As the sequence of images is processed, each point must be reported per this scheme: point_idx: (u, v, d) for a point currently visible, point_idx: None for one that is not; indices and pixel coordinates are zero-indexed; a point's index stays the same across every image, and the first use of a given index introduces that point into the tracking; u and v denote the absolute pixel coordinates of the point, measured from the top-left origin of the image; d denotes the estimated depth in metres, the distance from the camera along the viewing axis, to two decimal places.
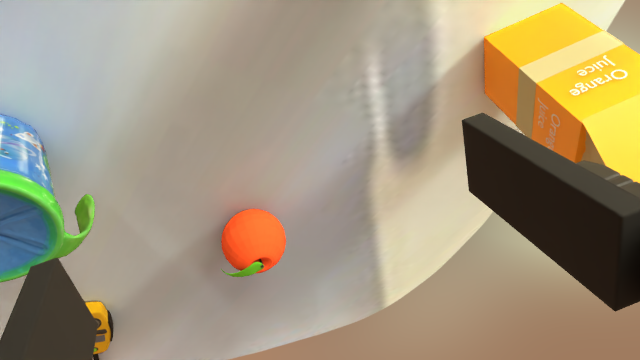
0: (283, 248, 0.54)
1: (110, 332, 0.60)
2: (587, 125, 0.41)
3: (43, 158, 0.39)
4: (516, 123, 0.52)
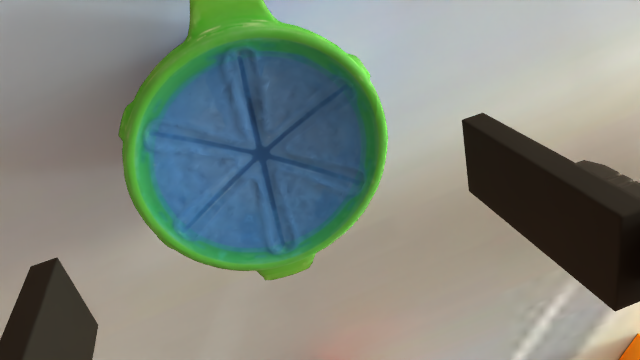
0: None
1: None
2: None
3: None
4: None
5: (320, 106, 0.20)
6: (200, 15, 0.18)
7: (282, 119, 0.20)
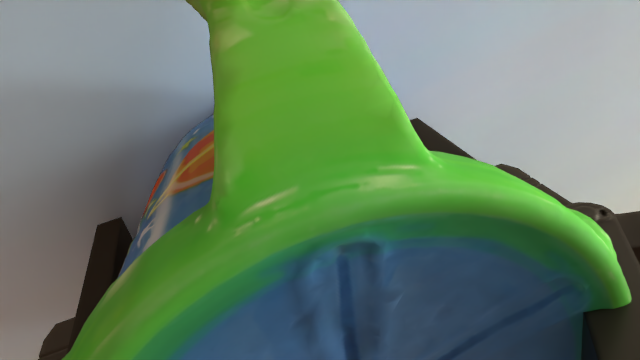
0: None
1: None
2: None
3: None
4: None
5: (502, 325, 0.09)
6: (244, 158, 0.06)
7: (416, 353, 0.09)
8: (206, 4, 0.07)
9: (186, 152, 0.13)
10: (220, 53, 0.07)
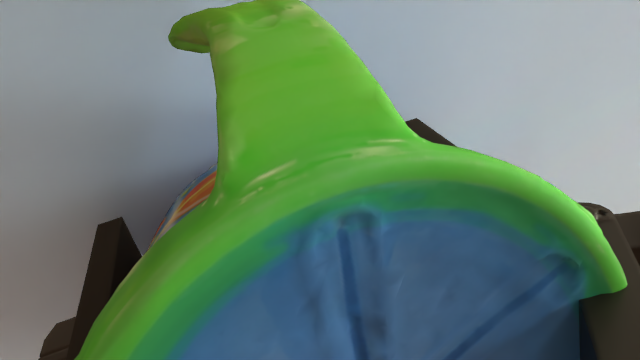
0: None
1: None
2: None
3: None
4: None
5: (506, 313, 0.09)
6: (246, 138, 0.07)
7: (424, 349, 0.09)
8: (205, 24, 0.08)
9: (185, 196, 0.13)
10: (220, 55, 0.08)
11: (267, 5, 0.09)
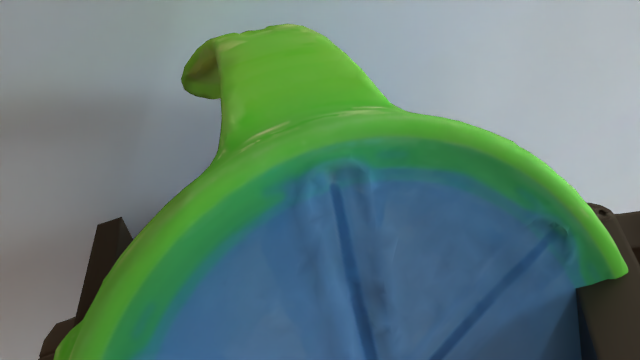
0: None
1: None
2: None
3: None
4: None
5: (504, 285, 0.09)
6: (245, 106, 0.08)
7: (427, 324, 0.09)
8: (212, 41, 0.10)
9: None
10: (223, 52, 0.09)
11: (264, 29, 0.10)
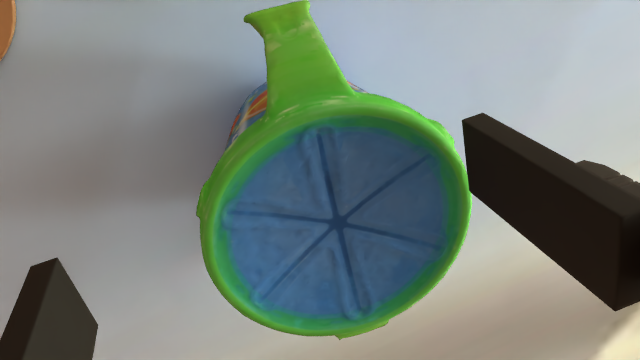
0: None
1: None
2: None
3: None
4: None
5: (401, 175, 0.19)
6: (278, 93, 0.17)
7: (360, 188, 0.19)
8: (263, 32, 0.18)
9: (251, 102, 0.23)
10: (269, 53, 0.17)
11: (293, 19, 0.18)
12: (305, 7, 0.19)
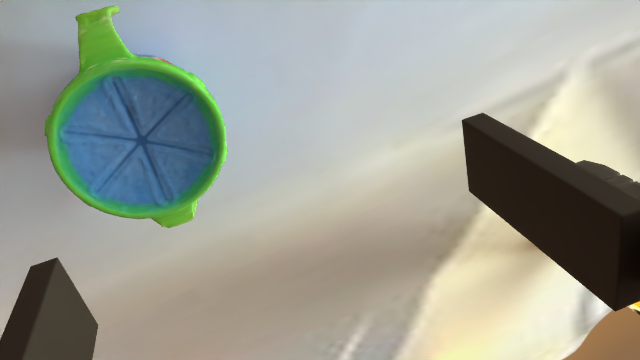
0: None
1: None
2: None
3: None
4: None
5: (174, 107, 0.31)
6: (85, 58, 0.29)
7: (151, 117, 0.31)
8: (78, 24, 0.30)
9: None
10: (80, 35, 0.29)
11: (97, 16, 0.30)
12: (108, 9, 0.31)
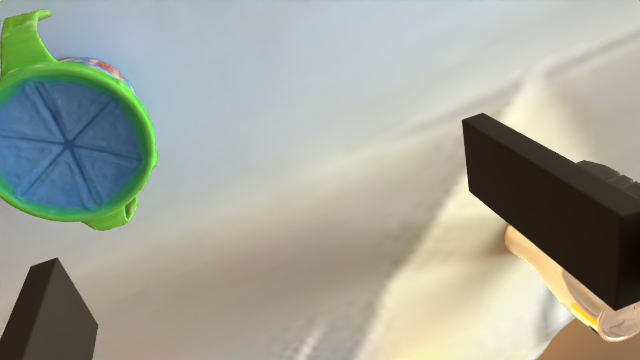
0: None
1: None
2: None
3: None
4: None
5: (100, 112, 0.31)
6: (6, 62, 0.29)
7: (77, 121, 0.32)
8: None
9: None
10: (2, 39, 0.29)
11: (22, 20, 0.30)
12: (35, 13, 0.31)
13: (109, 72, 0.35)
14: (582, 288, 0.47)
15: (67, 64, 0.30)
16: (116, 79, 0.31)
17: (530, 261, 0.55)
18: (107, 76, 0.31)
